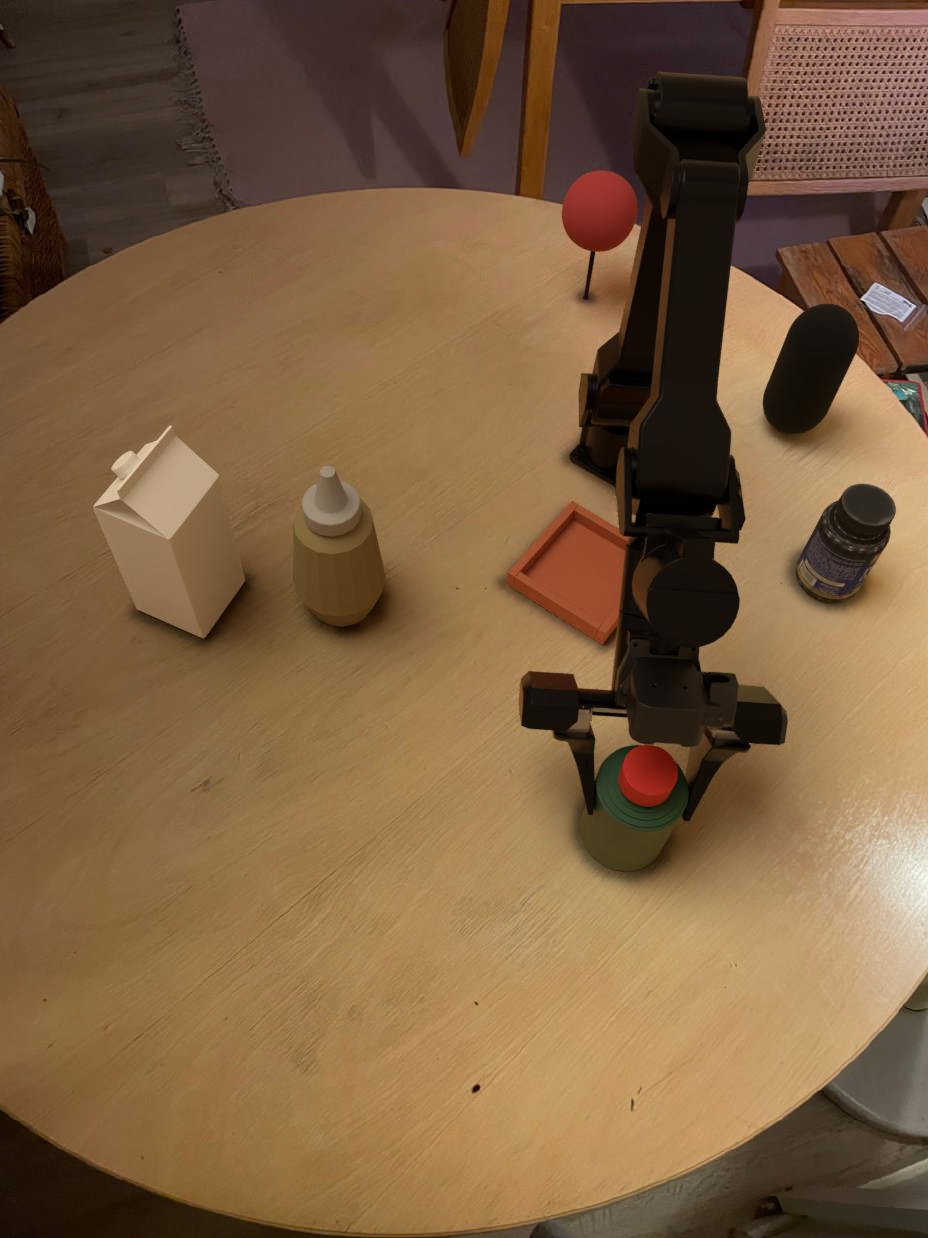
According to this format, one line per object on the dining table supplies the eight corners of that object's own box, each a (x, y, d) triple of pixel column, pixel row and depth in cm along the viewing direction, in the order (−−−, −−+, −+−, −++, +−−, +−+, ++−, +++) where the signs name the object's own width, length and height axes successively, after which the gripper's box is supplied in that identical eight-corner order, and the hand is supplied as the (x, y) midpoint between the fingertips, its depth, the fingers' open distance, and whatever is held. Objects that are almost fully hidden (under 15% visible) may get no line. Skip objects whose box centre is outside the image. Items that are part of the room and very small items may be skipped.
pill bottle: (858, 610, 96) (905, 539, 86) (792, 597, 96) (832, 526, 87) (858, 557, 99) (904, 483, 90) (794, 545, 99) (833, 470, 90)
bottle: (563, 838, 83) (583, 780, 73) (609, 775, 86) (634, 712, 76) (635, 888, 81) (665, 836, 71) (679, 823, 84) (714, 764, 74)
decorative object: (817, 453, 106) (872, 341, 93) (753, 443, 106) (799, 331, 94) (817, 406, 109) (869, 293, 97) (754, 397, 110) (799, 282, 97)
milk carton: (246, 580, 95) (211, 441, 79) (204, 640, 91) (158, 507, 75) (180, 552, 96) (132, 409, 80) (136, 610, 93) (76, 473, 77)
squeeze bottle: (399, 578, 96) (396, 448, 80) (367, 649, 92) (356, 526, 76) (319, 553, 97) (300, 420, 82) (283, 622, 93) (256, 495, 78)
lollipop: (630, 290, 118) (655, 172, 105) (599, 329, 114) (622, 212, 102) (571, 265, 120) (588, 146, 107) (539, 303, 116) (553, 184, 103)
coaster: (506, 583, 96) (507, 572, 94) (569, 512, 101) (572, 500, 99) (602, 644, 93) (605, 633, 91) (663, 568, 97) (667, 556, 96)
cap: (607, 785, 75) (612, 773, 73) (635, 746, 77) (640, 734, 75) (654, 817, 74) (660, 806, 72) (681, 777, 75) (688, 765, 74)
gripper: (534, 630, 66) (516, 857, 69) (827, 650, 66) (794, 875, 69) (526, 595, 77) (510, 792, 80) (777, 612, 77) (751, 808, 80)
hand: (637, 816), depth 77 cm, fingers closed on bottle, 7 cm apart
